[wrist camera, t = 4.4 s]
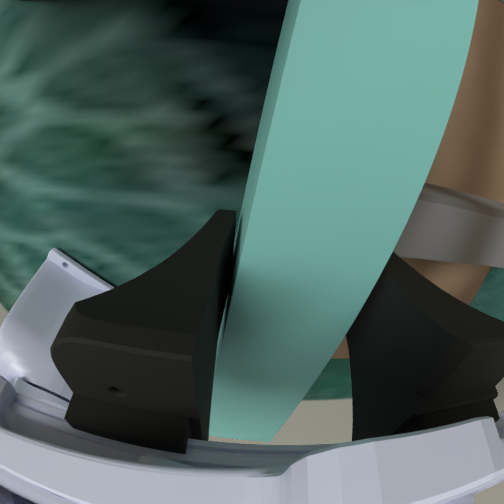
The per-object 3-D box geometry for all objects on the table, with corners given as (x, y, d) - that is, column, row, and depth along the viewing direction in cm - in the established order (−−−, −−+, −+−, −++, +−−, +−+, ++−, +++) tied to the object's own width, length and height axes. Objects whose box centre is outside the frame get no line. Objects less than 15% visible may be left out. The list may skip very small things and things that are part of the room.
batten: (269, 366, 18) (269, 441, 14) (211, 358, 18) (202, 434, 14) (398, -11, 7) (482, -35, 3) (299, -45, 6) (328, -108, 2)
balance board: (301, 347, 23) (305, 386, 20) (385, -48, 8) (416, -67, 5) (430, 346, 23) (442, 378, 21) (548, 45, 8) (586, 55, 5)
